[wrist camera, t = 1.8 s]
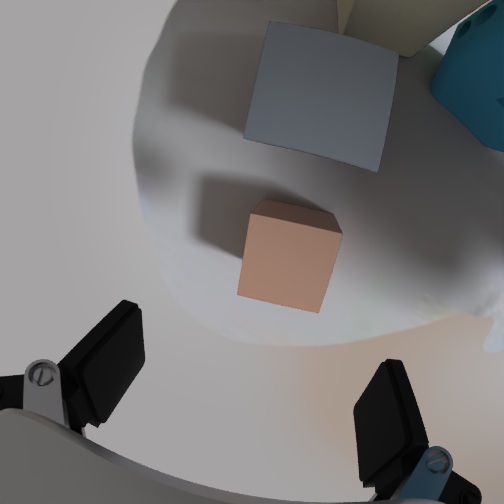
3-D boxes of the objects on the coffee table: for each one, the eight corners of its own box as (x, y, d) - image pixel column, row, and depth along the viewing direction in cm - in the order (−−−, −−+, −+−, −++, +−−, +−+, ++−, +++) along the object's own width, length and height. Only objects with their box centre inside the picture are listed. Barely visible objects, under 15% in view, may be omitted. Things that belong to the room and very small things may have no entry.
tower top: (379, 73, 14) (399, 53, 10) (360, 167, 17) (377, 172, 13) (277, 48, 15) (269, 21, 11) (257, 141, 17) (243, 138, 13)
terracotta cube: (333, 213, 22) (342, 234, 17) (316, 277, 25) (318, 313, 19) (263, 198, 23) (250, 213, 18) (251, 263, 25) (236, 294, 20)
